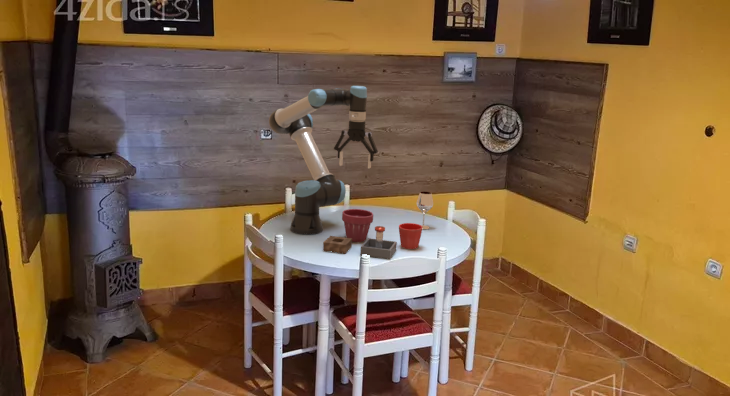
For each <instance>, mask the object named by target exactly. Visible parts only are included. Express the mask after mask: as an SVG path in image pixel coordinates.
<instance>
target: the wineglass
mask: <svg viewBox="0 0 730 396" xmlns="http://www.w3.org/2000/svg"><path fill="white" fill-rule="evenodd" d="M416 206H417V208H418V209H419V211H420V212H421V213H422V224H420V225H421V226H422V227H423V228H422V230H430V226H428V225H425V218H426V217H425V216H426V213H428V212H429V211H430V210H431V209H432V208H433V206H434V200H433V194H432V192H431V191H420V192H419V194H418V197H417V200H416Z"/></svg>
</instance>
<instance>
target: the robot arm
mask: <svg viewBox="0 0 730 396" xmlns="http://www.w3.org/2000/svg"><path fill="white" fill-rule="evenodd" d="M367 98H368V88H367V87H366V86H363V85H352V86H350V89H347V88H341V87H340V88H339V87H337V88H315V89H314V88H313V89H311V90H310V91H309V93H308V95H307V96H305V97H303V98H300V100H298V101H296V102H294V103H292V104H290V105H288V106H286V107H284V108H283V107H282V108H278V109H277V110H275V111H273V112H272V113H271V114H270V116H269V118H268V125H269V127H270V129H271V130H272V131H274V133H276V134H279V135H285V134H286V135H287V134H288V135H289V137H290V138H291V140H292V141H295V143H296V144H297V147H298V150H299V151H300V153H301V156H302V157H303V160H304V161H305V164H306V166H307V168H308V170H309V172H310V176H311V177H312V179H311V180H303V181H300V182H298V183H297V184H296V185H295V191H294V215H293V218H292V221H291V223H290V231H291V232H292V233H295V234H297V235H316V234H320V233H322V232H323V224H322V220H321V216H320V208H323V207H329V206H335V205H339V204H341V203H342V202H343V201H344V199H345V198H346V193H347V192H346V191H347V190H346V186H345V183H344V182H343V181H342V180H339V179H337V178H336V176H335V174H333V173H331V172H330V171H329V169H328V168H329V167H327V164H326V162H325V160H324V158H323V155H322V153H321V152H320V150H319V147H318V145H317V144H316V142H315V139H314V137H313V135H312V132H313V127H314V121H313V120H314V119H313V117H312V115H311V114H312V113H313V112H315V111H317V110H319V109H322V108H323V107H334V106H335V107H336V106H339V107H340V106H344V107H345V106H346V107H349V111H348V112H349V113H348V114H349V115H348V119H349V121H348V130H346V129H343V130H341V132H340V133H341V134H340V136H339V137H338V140H337V142H336V143H335V145H334V147H333V150H335V151H337V159H339V165H338V166H340V167H342V166H343V164H344V163H343V162H344V159H343V157H344V151H343V149H344V148H345V147H346V146H347V145H348V144H349V143H350V142H357V143H358V142H361V143H362V145H363V146H364V148H365V149H366V150H367V151H368V153H369V154H368V158H367V159H368V160H367V169H368V170H369V169H371V168H372V162H374V159H375V158H374V155H375V154H377V153H378V152H379V150H378V148H377V146H376V144H375V141H374V138H373V133H372V131H371V132H366V117H367V100H368V99H367ZM345 136H348V138H347V139H346V140H345V141H344V142H343V143H342V141H343V140H344V139H345ZM365 137H366V138H367V139H368V142H369V143H368V142H367V140H366V138H365ZM369 144H370V145H369ZM340 145H341V146H340Z"/></svg>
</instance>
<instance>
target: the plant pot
mask: <svg viewBox="0 0 730 396" xmlns="http://www.w3.org/2000/svg"><path fill="white" fill-rule="evenodd" d="M341 220H342V221H343V224H344V229H345V238H352V243H362V242H363V243H364V242H365V241H366V240H367V239H368V234H369V232H370V227H371V224H372V223H373V221H374V213H373V212H372V211H370V210H367V209H358V208H350V209H345V210H343V211H342V214H341Z"/></svg>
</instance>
